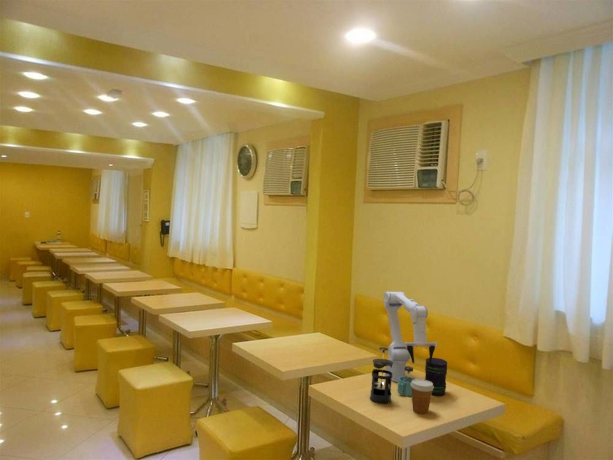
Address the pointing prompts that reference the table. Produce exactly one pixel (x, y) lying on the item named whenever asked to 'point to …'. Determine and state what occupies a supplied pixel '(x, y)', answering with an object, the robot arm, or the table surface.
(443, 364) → the storage jar
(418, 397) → the disposable coffee cup
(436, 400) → the table surface
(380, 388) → the french press
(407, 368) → the plunger
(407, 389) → the carafe
